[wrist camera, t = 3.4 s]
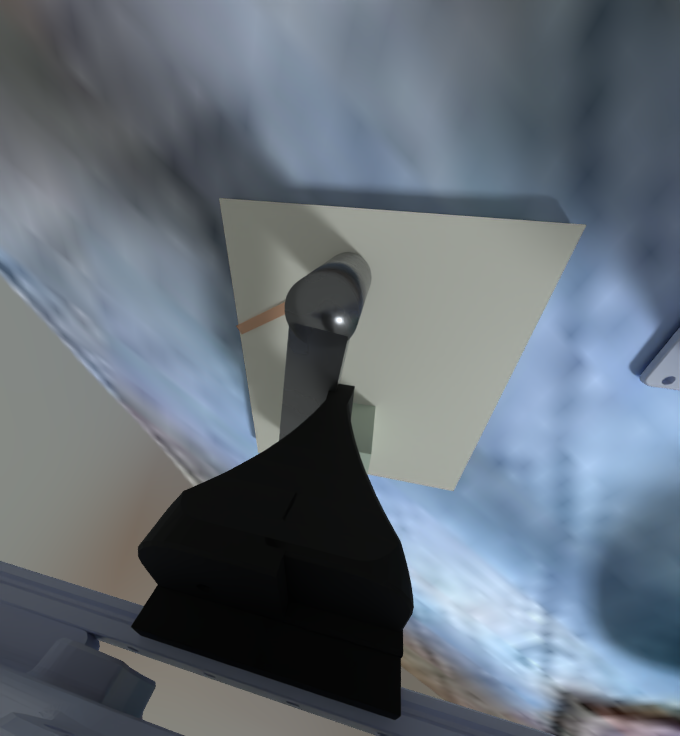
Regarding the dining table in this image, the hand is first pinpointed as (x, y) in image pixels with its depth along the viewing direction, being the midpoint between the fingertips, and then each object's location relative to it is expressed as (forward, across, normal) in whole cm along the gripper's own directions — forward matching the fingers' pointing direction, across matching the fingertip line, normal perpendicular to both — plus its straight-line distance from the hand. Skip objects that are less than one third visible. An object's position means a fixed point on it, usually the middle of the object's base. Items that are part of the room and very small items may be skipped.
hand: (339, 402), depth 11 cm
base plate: (+6, -1, +2) cm, 6 cm away
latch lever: (+5, +1, +1) cm, 5 cm away
